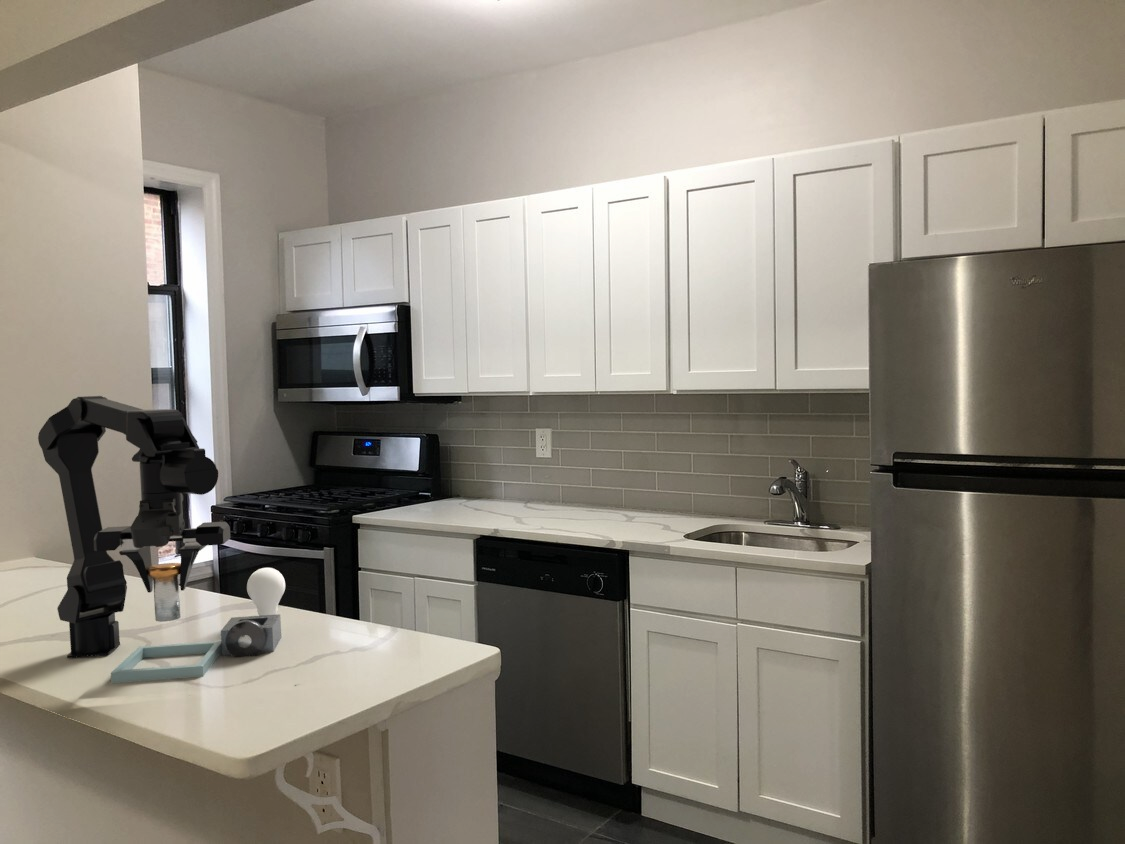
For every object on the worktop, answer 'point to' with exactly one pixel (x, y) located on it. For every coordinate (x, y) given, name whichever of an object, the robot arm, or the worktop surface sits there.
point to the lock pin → (166, 591)
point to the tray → (129, 674)
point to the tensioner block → (251, 635)
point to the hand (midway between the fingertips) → (166, 591)
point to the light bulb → (266, 590)
